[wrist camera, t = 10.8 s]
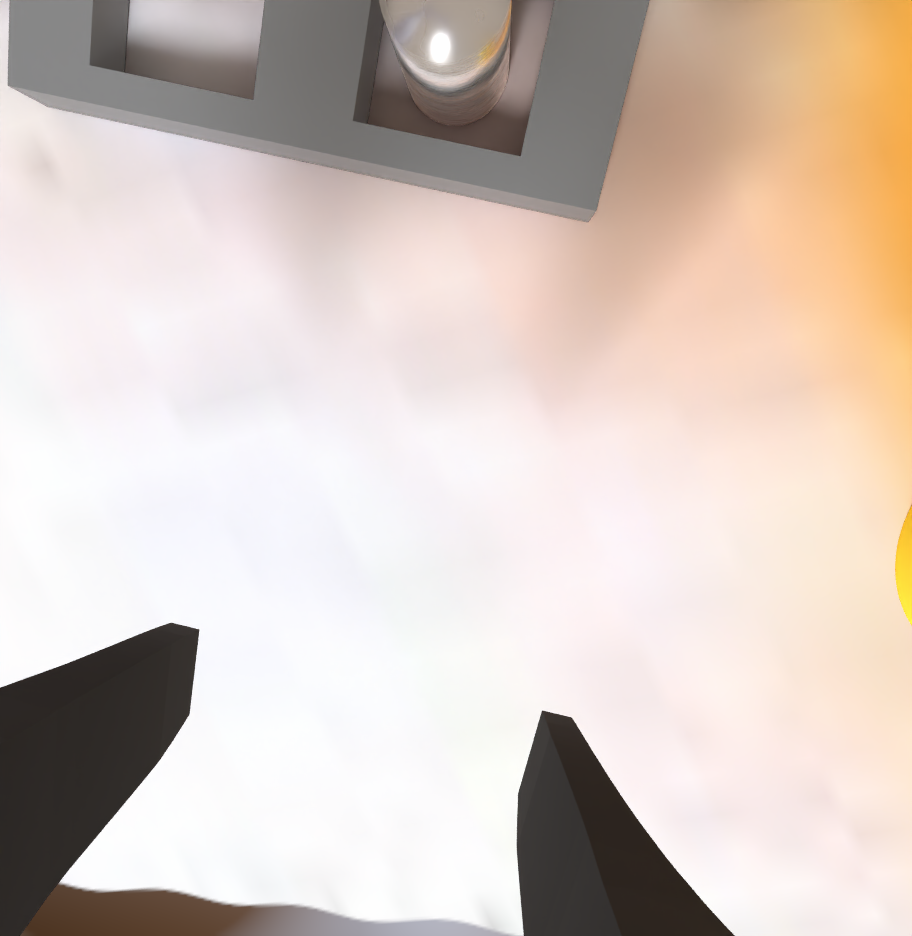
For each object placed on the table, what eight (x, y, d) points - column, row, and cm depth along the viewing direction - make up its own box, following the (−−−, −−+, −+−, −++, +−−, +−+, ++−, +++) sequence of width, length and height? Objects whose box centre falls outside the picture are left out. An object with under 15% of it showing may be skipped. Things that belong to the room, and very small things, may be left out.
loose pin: (396, 114, 17) (366, 47, 13) (416, -2, 17) (391, -110, 13) (495, 135, 17) (495, 74, 13) (519, 19, 16) (526, -81, 13)
